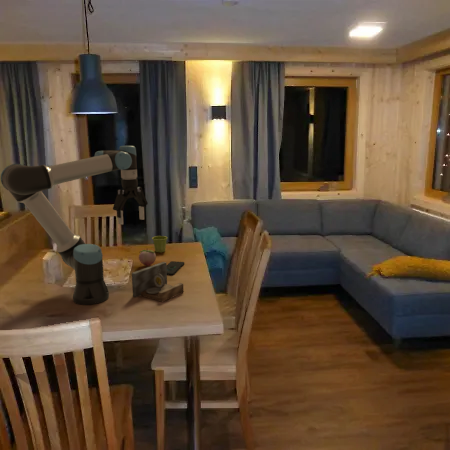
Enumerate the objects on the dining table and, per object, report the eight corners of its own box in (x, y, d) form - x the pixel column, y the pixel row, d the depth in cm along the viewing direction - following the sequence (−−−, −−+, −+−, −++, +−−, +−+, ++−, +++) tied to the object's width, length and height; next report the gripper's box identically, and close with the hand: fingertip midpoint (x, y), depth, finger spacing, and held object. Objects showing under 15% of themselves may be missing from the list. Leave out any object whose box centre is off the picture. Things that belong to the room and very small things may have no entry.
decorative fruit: (158, 263, 232) (157, 246, 230) (154, 268, 224) (153, 250, 222) (141, 263, 233) (141, 246, 231) (137, 268, 225) (136, 250, 223)
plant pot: (162, 248, 263) (162, 235, 261) (170, 251, 256) (170, 237, 254) (149, 251, 257) (149, 237, 256) (157, 254, 250) (157, 240, 249)
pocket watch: (144, 294, 183) (143, 273, 181) (149, 287, 192) (148, 267, 190) (163, 295, 183) (162, 273, 181) (166, 288, 191) (166, 267, 189)
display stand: (157, 304, 177) (156, 279, 175) (132, 296, 186) (131, 272, 183) (187, 290, 193) (187, 267, 191) (164, 283, 201) (163, 261, 199)
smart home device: (158, 272, 214) (170, 260, 233) (158, 275, 214) (170, 263, 233) (173, 273, 212) (185, 261, 231) (173, 276, 213) (185, 264, 232)
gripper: (113, 181, 188) (116, 227, 192) (153, 176, 207) (155, 218, 212) (103, 180, 192) (106, 225, 196) (143, 175, 212) (145, 216, 216)
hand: (131, 221), depth 204 cm, fingers open, 13 cm apart
